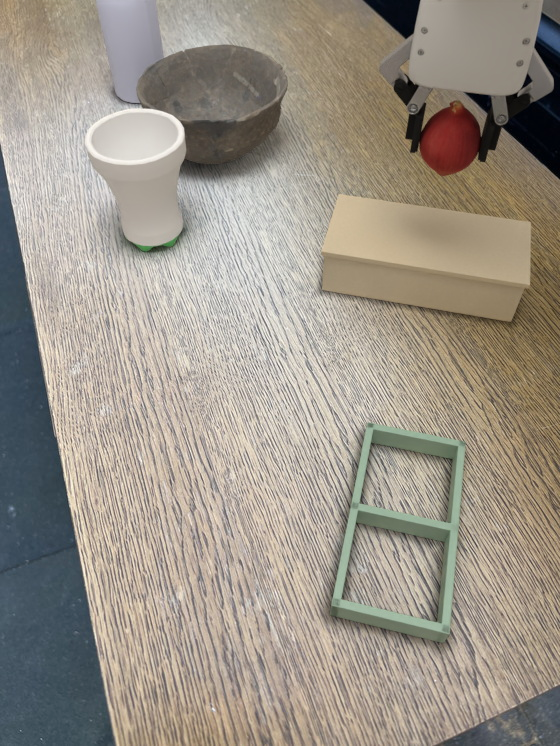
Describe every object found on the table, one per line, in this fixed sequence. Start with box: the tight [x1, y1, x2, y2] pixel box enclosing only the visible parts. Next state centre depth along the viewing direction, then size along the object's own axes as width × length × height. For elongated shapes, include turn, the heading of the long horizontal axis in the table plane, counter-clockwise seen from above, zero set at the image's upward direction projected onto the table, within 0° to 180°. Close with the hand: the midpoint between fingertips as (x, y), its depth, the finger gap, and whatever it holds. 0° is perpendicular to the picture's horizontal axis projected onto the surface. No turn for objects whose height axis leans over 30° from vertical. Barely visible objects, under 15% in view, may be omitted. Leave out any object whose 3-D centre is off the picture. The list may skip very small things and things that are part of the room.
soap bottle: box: [94, 0, 165, 104], centre depth 96 cm, size 9×9×24 cm
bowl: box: [136, 43, 289, 165], centre depth 92 cm, size 21×21×10 cm
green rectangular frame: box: [329, 421, 467, 644], centre depth 58 cm, size 9×18×2 cm, turn 166°
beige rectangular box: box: [320, 193, 532, 323], centre depth 76 cm, size 23×11×6 cm, turn 76°
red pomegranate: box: [418, 99, 482, 177], centre depth 63 cm, size 6×6×8 cm
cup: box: [84, 107, 186, 252], centre depth 78 cm, size 11×11×14 cm
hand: (448, 148), depth 64 cm, fingers closed on red pomegranate, 5 cm apart
